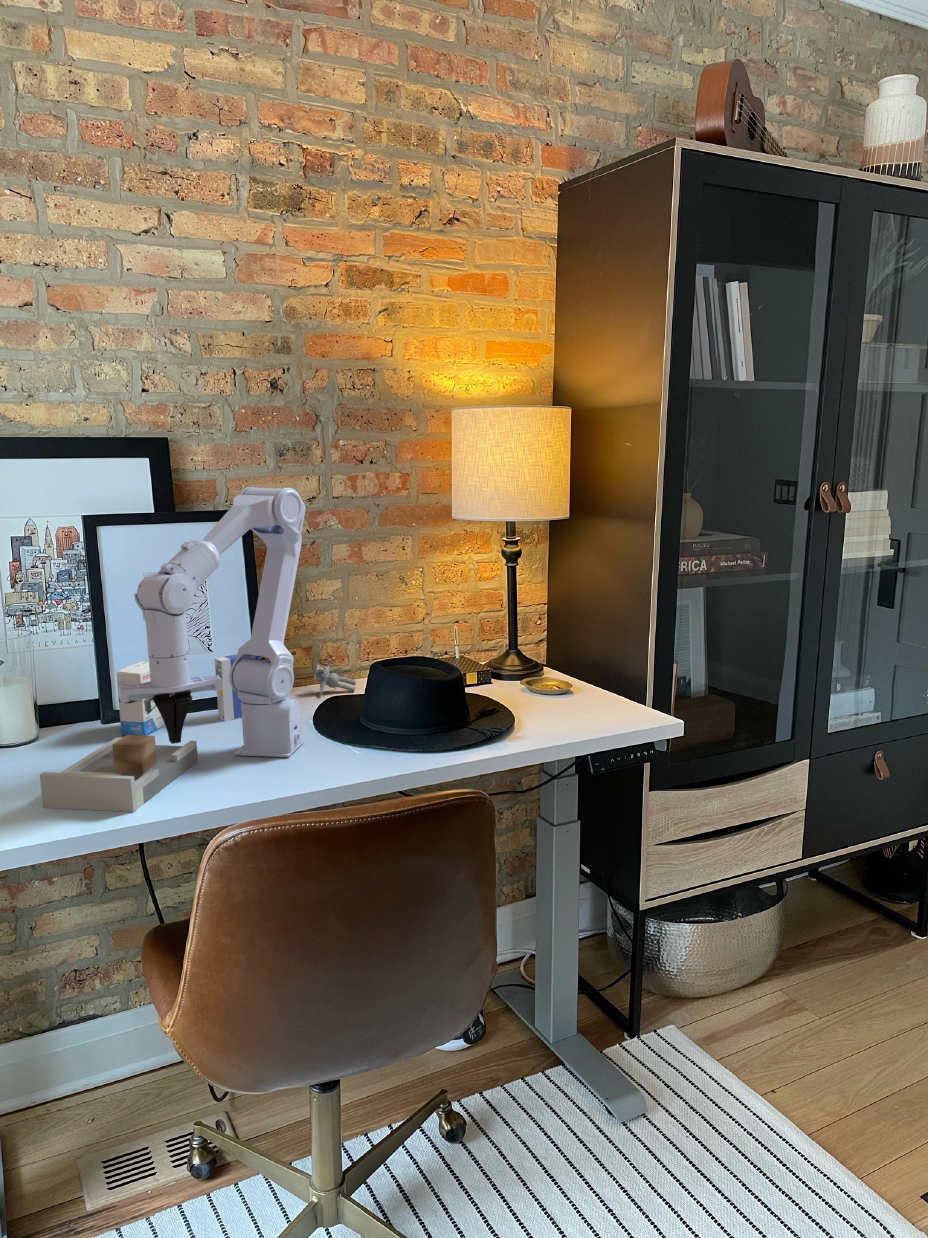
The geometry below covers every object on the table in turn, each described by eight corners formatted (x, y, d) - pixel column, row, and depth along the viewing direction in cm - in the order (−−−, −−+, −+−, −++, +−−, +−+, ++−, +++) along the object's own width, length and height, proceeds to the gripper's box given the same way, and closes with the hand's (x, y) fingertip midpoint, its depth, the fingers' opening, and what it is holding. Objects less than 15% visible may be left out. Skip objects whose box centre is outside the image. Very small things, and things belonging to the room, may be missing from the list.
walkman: (253, 709, 179) (250, 649, 177) (261, 712, 177) (257, 652, 175) (217, 718, 174) (212, 656, 172) (224, 721, 172) (220, 659, 170)
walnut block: (156, 763, 143) (154, 735, 142) (142, 774, 139) (140, 745, 138) (129, 762, 144) (127, 734, 143) (114, 772, 139) (112, 744, 138)
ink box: (145, 737, 164) (139, 673, 161) (120, 736, 165) (114, 672, 162) (169, 723, 172) (165, 661, 170) (145, 721, 173) (140, 660, 171)
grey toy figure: (354, 699, 186) (311, 686, 184) (347, 714, 191) (304, 701, 189) (363, 660, 193) (322, 647, 191) (356, 675, 197) (315, 662, 195)
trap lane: (197, 761, 151) (195, 732, 150) (133, 812, 131) (130, 778, 130) (118, 757, 153) (115, 729, 152) (43, 807, 133) (39, 774, 132)
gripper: (211, 643, 144) (217, 727, 147) (113, 654, 137) (121, 741, 140) (222, 652, 138) (227, 739, 140) (119, 664, 131) (127, 755, 134)
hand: (175, 741), depth 140 cm, fingers closed
